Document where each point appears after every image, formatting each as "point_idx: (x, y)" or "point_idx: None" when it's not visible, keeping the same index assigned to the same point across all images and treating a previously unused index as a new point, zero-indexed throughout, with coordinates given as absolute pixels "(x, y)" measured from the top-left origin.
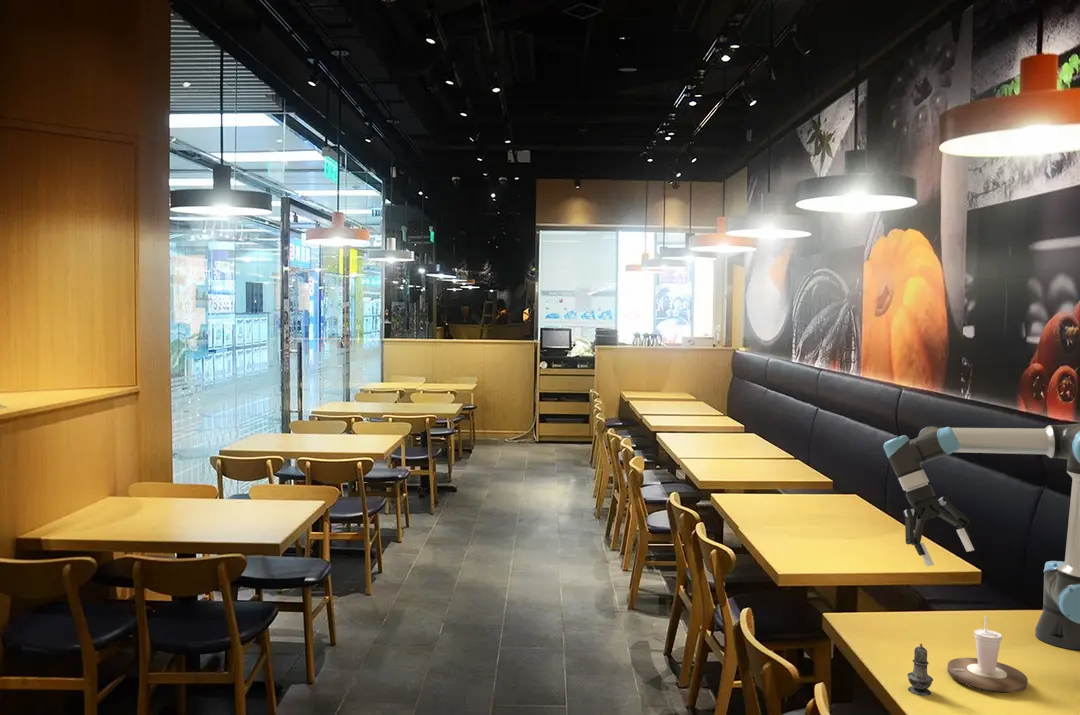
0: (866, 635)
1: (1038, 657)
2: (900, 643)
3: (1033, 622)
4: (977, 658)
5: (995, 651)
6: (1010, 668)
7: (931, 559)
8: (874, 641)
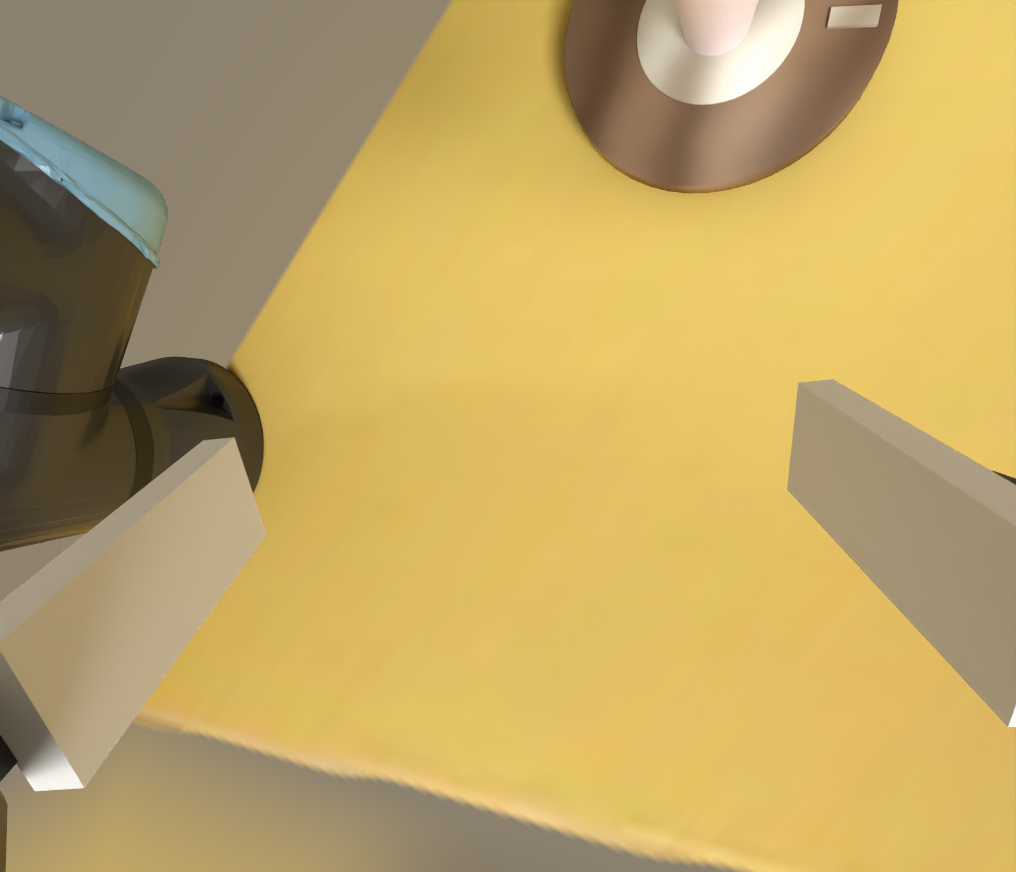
0: None
1: (364, 303)
2: None
3: None
4: (756, 2)
5: None
6: (586, 74)
7: (839, 406)
8: None
